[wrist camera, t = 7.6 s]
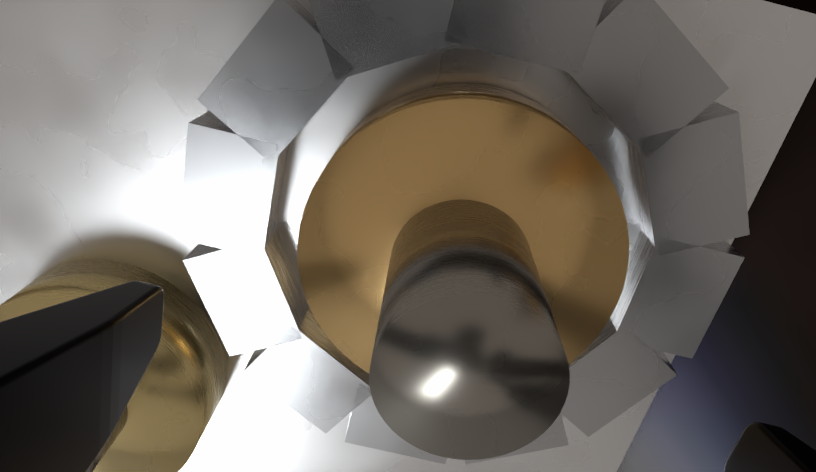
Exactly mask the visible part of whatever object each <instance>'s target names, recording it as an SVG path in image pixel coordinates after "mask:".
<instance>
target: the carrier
mask: <svg viewBox="0 0 816 472" xmlns="http://www.w3.org/2000/svg"><path fill="white" fill-rule="evenodd" d="M815 77H816V14H813V13H809V12H806V11H802V10H798V9H794V8H790V7H787V6H783V5H779V4H775V3H771V2H768V1H764V0H0V322H1V321H4V320H8V319H11V318H14V317H17V316H21V315H24V314H27V313H30V312H34V311H37V310H40V309H43V308H46V307H50V306H53V305H56V304H59V303H63V302H66V301H69V300H72V299H76V298H79V297H82V296H85V295H88V294H92V293H95V292H98V291H101V290H105V289H108V288H111V287H114V286H118V285H121V284H124V283H127V282H130V281H141V282H145V283H149V284H154V285H158V286H160V287H161V288H162V289H163V291H164V307H163V320H162V333H161V339H160V342H159V345H158V348H157V350H156V352H155V354H154V356H153V358H152V360H151V361H150V363H149V365H148V367H147V369H146V371H145V373H144V374H143V376H142V378H141V380H140V382H139V384H138V386H137V387H136V389H135V391H134V393H133V395H132V397H131V399H130V401H129V402H128V404H127V406H126V408H125V410H124V412H123V414H122V415H121V417H120V419H119V421H118V423H117V425H116V426H115V428H114V430H113V432H112V433H111V435H110V437H109V438H108V440H107V442H106V443H105V445H104V446H103V448H102V449H101V451H100V452H99V454H98V455H97V457H96V458H95V459H94V461H93V462H92V464H91V465H90V467H89V468H88V469H87V471H86V472H617V470H618V468H619V466H620V464H621V462H622V460H623V458H624V456H625V454H626V452H627V450H628V448H629V446H630V444H631V442H632V440H633V438H634V436H635V434H636V432H637V430H638V428H639V426H640V424H641V422H642V420H643V418H644V416H645V414H646V413H647V411H648V409H649V407H650V405H651V403H652V401H653V399H654V397H655V395H656V393H657V391H658V389H659V387H661V386H662V385H664V384H665V383H666V382H668V381H669V380H671V379H672V378H674V377H675V376H676V375H677V373H676V372H675V370H674V368H673V367H672V365H671V363H672V361H673V359H674V357H675V355H679V356H683V357H688V358H693V356H694V354H695V352H696V350H697V348H698V346H699V344H700V342H701V340H702V339H703V337H704V335H705V333H706V331H707V329H708V327H709V325H710V323H711V321H712V319H713V317H714V315H715V314H716V312H717V310H718V308H719V306H720V304H721V302H722V300H723V298H724V296H725V294H726V292H727V290H728V289H729V287H730V285H731V283H732V281H733V279H734V277H735V275H736V273H737V271H738V269H739V267H740V265H741V263H742V262H743V260H744V258H745V257H744V256H742V255H741V254H740V253H739V252H738V251H737V250H736V249H735V248H734V247H732V246H731V244H732V242H733V240H734V238H737V237H741V236H746V235H750V234H749V222H748V210H749V208H750V206H751V204H752V202H753V200H754V198H755V196H756V194H757V192H758V190H759V188H760V187H761V185H762V183H763V181H764V179H765V177H766V175H767V173H768V171H769V169H770V167H771V165H772V163H773V161H774V159H775V157H776V155H777V153H778V151H779V149H780V147H781V145H782V143H783V141H784V139H785V137H786V135H787V133H788V131H789V129H790V127H791V125H792V123H793V121H794V119H795V117H796V115H797V113H798V111H799V109H800V107H801V105H802V103H803V101H804V99H805V97H806V95H807V93H808V91H809V89H810V87H811V85H812V83H813V81H814V79H815ZM447 84H480V85H485V86H491V87H496V88H501V89H504V90H507V91H510V92H513V93H516V94H519V95H521V96H524V97H526V98H528V99H530V100H532V101H534V102H536V103H538V104H539V105H541V106H542V107H544V108H545V109H547V110H548V111H550V112H551V113H553V114H554V115H555V116H556V117H558V118H559V119H560V120H561V121H562V122H563V123H564V124H565V125H566V126H568V127H569V128H570V130H571V131H572V132H573V133H574V134H575V135H576V136H577V137H578V139H579V140H580V141H581V142H582V143H583V144H584V145H585V146H586V147H587V149H588V150H589V151H590V152H591V153H592V154H593V156H594V157H595V158H596V159H597V160H598V162H599V163H600V164H601V165H602V166H603V168H604V169H605V171H606V173H607V174H608V176H609V178H610V179H611V181H612V183H613V184H614V186H615V188H616V191H617V193H618V196H619V198H620V200H621V203H622V205H623V209H624V213H625V217H626V221H627V225H628V236H629V261H628V269H627V274H626V279H625V284H624V287H623V290H622V293H621V295H620V298H619V301H618V304H617V305H616V307H615V309H614V311H613V313H612V315H611V317H610V319H609V321H608V322H607V324H606V325H605V326H604V328H603V329H602V331H601V332H600V334H599V335H598V336H597V337H596V339H595V340H594V341H593V342H592V343H591V344H590V345H589V346H588V347H587V348H586V350H585V351H584V352H582V353H581V354H580V355H579V356H578V357H577V358H575V359H574V360H573V361H572V362H571V363H570V364H569V371H570V385H569V390H568V395H567V398H566V401H565V404H564V406H563V408H562V410H561V412H560V414H559V416H558V417H557V418H556V420H555V421H554V423H553V424H552V425H551V426H550V427H549V428H548V429H547V430H546V431H545V432H544V433H543V434H542V435H541V436H539V437H538V438H537V439H536V440H534V441H532V442H531V443H529V444H528V445H526V446H524V447H522V448H520V449H518V450H516V451H513V452H511V453H508V454H505V455H502V456H497V457H493V458H487V459H480V460H461V459H451V458H445V457H441V456H437V455H434V454H430V453H428V452H425V451H423V450H420V449H418V448H417V447H415V446H413V445H411V444H409V443H408V442H406V441H405V440H403V439H402V438H400V437H399V436H398V435H397V434H396V433H395V432H394V431H392V430H391V428H390V427H389V426H388V425H387V424H386V423H385V422H384V420H383V419H382V417H381V416H380V414H379V413H378V411H377V409H376V406H375V404H374V402H373V399H372V395H371V392H370V385H369V373H367V372H366V371H364V370H363V369H361V368H360V367H359V366H357V365H356V364H354V363H353V362H352V361H351V360H350V359H348V358H347V357H346V356H345V355H344V354H343V353H342V352H341V351H339V350H338V348H337V347H336V346H335V345H334V344H333V343H332V342H331V340H330V339H329V338H328V337H327V336H326V334H325V333H324V331H323V330H322V328H321V327H320V325H319V324H318V322H317V321H316V319H315V317H314V315H313V313H312V311H311V309H310V307H309V305H308V303H307V300H306V297H305V294H304V291H303V288H302V285H301V280H300V274H299V269H298V253H297V245H298V235H299V227H300V223H301V219H302V215H303V211H304V207H305V205H306V203H307V200H308V198H309V195H310V193H311V190H312V188H313V187H314V185H315V183H316V182H317V180H318V178H319V177H320V175H321V173H322V171H323V170H324V168H325V167H326V165H327V164H328V162H329V160H330V159H331V157H332V156H333V154H334V153H335V151H336V149H337V148H338V146H339V145H340V144H341V143H342V141H343V140H344V139H345V138H346V136H347V135H348V134H349V133H350V131H351V130H352V129H353V128H355V127H356V126H357V125H358V124H359V123H360V122H361V121H362V120H363V119H364V118H365V117H367V116H368V115H369V114H371V113H372V112H374V111H375V110H376V109H378V108H379V107H381V106H382V105H384V104H386V103H388V102H390V101H392V100H394V99H396V98H397V97H400V96H403V95H405V94H408V93H411V92H413V91H416V90H419V89H424V88H428V87H433V86H437V85H447Z"/></svg>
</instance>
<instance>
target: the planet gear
mask: <svg viewBox="0 0 816 472" xmlns="http://www.w3.org/2000/svg"><path fill="white" fill-rule="evenodd" d="M297 253H298V269H299V274H300V280H301V285H302V288H303V291H304V294H305V297H306V300H307V303H308V305H309V307H310V309H311V311H312V313H313V315H314V317H315V319H316V321H317V322H318V324H319V325H320V327H321V328H322V330H323V331H324V333H325V334H326V336H327V337H328V338H329V339H330V340H331V342H332V343H333V344H334V345H335V346H336V347H337V348H338V350H339V351H341V352H342V353H343V354H344V355H345V356H346V357H347V358H348V359H350V360H351V361H352V362H353V363H354V364H356V365H357V366H359V367H360V368H361V369H363V370H364V371H366V372H367V373H369V385H370V392H371V395H372V399H373V402H374V404H375V406H376V409H377V411H378V413H379V414H380V416H381V417H382V419H383V420H384V422H385V423H386V424H387V425H388V426H389V427H390V428H391V430H392V431H394V432H395V433H396V434H397V435H398V436H399V437H400V438H402V439H403V440H405V441H406V442H408V443H409V444H411V445H413V446H415V447H417V448H418V449H420V450H423V451H425V452H428V453H430V454H434V455H437V456H441V457H445V458H451V459H461V460H480V459H487V458H493V457H497V456H502V455H505V454H508V453H511V452H513V451H516V450H518V449H520V448H522V447H524V446H526V445H528V444H529V443H531V442H532V441H534V440H536V439H537V438H538V437H539V436H541V435H542V434H543V433H544V432H545V431H546V430H547V429H548V428H549V427H550V426H551V425H552V424H553V423H554V421H555V420H556V418H557V417H558V416H559V414H560V412H561V410H562V408H563V406H564V404H565V401H566V398H567V395H568V390H569V385H570V371H569V364H570V363H571V362H572V361H573V360H574V359H575V358H577V357H578V356H579V355H580V354H581V353H582V352H584V351H585V350H586V348H587V347H588V346H589V345H590V344H591V343H592V342H593V341H594V340H595V339H596V337H597V336H598V335H599V334H600V332H601V331H602V329H603V328H604V326H605V325H606V324H607V322H608V321H609V319H610V317H611V315H612V313H613V311H614V309H615V307H616V305H617V304H618V301H619V298H620V295H621V293H622V290H623V287H624V284H625V279H626V274H627V269H628V261H629V236H628V225H627V221H626V217H625V213H624V209H623V205H622V203H621V200H620V198H619V196H618V193H617V191H616V188H615V186H614V184H613V183H612V181H611V179H610V178H609V176H608V174H607V173H606V171H605V169H604V168H603V166H602V165H601V164H600V163H599V162H598V160H597V159H596V158H595V157H594V156H593V154H592V153H591V152H590V151H589V150H588V149H587V147H586V146H585V145H584V144H583V143H582V142H581V141H580V140H579V139H578V137H577V136H576V135H575V134H574V133H573V132H572V131H571V130H570V128H569V127H568V126H566V125H565V124H564V123H563V122H562V121H561V120H560V119H559V118H558V117H556V116H555V115H554V114H553V113H551V112H550V111H548V110H547V109H545V108H544V107H542V106H541V105H539V104H538V103H536V102H534V101H532V100H530V99H528V98H526V97H524V96H521V95H519V94H516V93H513V92H510V91H507V90H504V89H501V88H496V87H491V86H485V85H480V84H447V85H437V86H433V87H428V88H424V89H419V90H416V91H413V92H411V93H408V94H405V95H403V96H400V97H397V98H396V99H394V100H392V101H390V102H388V103H386V104H384V105H382V106H381V107H379V108H378V109H376V110H375V111H374V112H372V113H371V114H369V115H368V116H367V117H365V118H364V119H363V120H362V121H361V122H360V123H359V124H358V125H357V126H356V127H355V128H353V129H352V130H351V131H350V133H349V134H348V135H347V136H346V138H345V139H344V140H343V141H342V143H341V144H340V145H339V146H338V148H337V149H336V151H335V153H334V154H333V156H332V157H331V159H330V160H329V162H328V164H327V165H326V167H325V168H324V170H323V171H322V173H321V175H320V177H319V178H318V180H317V182H316V183H315V185H314V187H313V188H312V190H311V193H310V195H309V198H308V200H307V203H306V205H305V207H304V211H303V215H302V219H301V223H300V227H299V235H298V245H297Z"/></svg>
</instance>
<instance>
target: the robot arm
mask: <svg viewBox="0 0 816 472" xmlns="http://www.w3.org/2000/svg"><path fill="white" fill-rule="evenodd" d="M163 307H164V291H163V289H162V288H161V287H160V286H158V285H154V284H149V283H145V282H141V281H130V282H127V283H124V284H121V285H118V286H114V287H111V288H108V289H105V290H101V291H98V292H95V293H92V294H88V295H85V296H82V297H79V298H76V299H72V300H69V301H66V302H63V303H59V304H56V305H53V306H50V307H46V308H43V309H40V310H37V311H34V312H30V313H27V314H24V315H21V316H17V317H14V318H11V319H8V320H4V321H1V322H0V472H86V471H87V469H88V468H89V467H90V465H91V464H92V462H93V461H94V459H95V458H96V457H97V455H98V454H99V452H100V451H101V449H102V448H103V446H104V445H105V443H106V442H107V440H108V438H109V437H110V435H111V433H112V432H113V430H114V428H115V426H116V425H117V423H118V421H119V419H120V417H121V415H122V414H123V412H124V410H125V408H126V406H127V404H128V402H129V401H130V399H131V397H132V395H133V393H134V391H135V389H136V387H137V386H138V384H139V382H140V380H141V378H142V376H143V374H144V373H145V371H146V369H147V367H148V365H149V363H150V361H151V360H152V358H153V356H154V354H155V352H156V350H157V348H158V345H159V342H160V339H161V333H162V320H163ZM724 472H816V451H815V450H814V449H812V448H811V447H810V446H808V445H807V444H805V443H804V442H802V441H801V440H799V439H798V438H796V437H795V436H793V435H792V434H790V433H789V432H788V431H786V430H785V429H783V428H780V427H778V426H774V425H769V424H765V423H760V422H754V423H751V424H749V425H748V426H747V427H746V428H745V430H744V431H743V433H742V435H741V436H740V438H739V440H738V441H737V443H736V445H735V446H734V448H733V450H732V451H731V453H730V455H729V456H728V458H727V460H726V463H725V467H724Z"/></svg>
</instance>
